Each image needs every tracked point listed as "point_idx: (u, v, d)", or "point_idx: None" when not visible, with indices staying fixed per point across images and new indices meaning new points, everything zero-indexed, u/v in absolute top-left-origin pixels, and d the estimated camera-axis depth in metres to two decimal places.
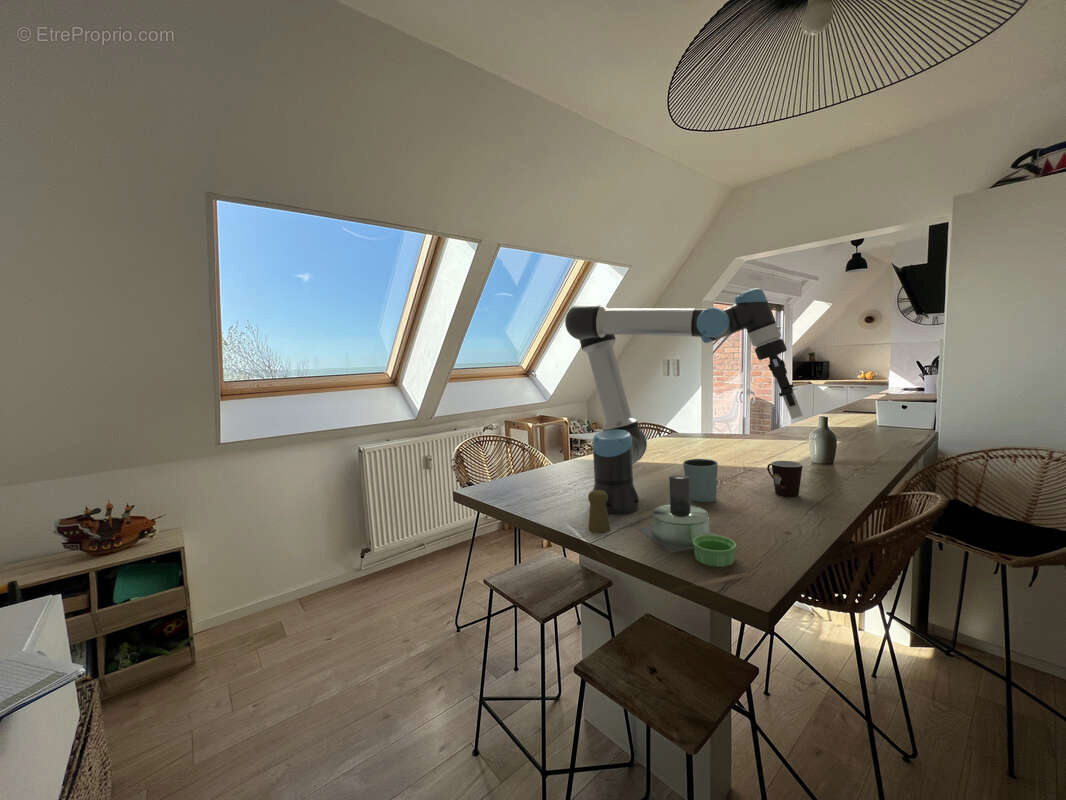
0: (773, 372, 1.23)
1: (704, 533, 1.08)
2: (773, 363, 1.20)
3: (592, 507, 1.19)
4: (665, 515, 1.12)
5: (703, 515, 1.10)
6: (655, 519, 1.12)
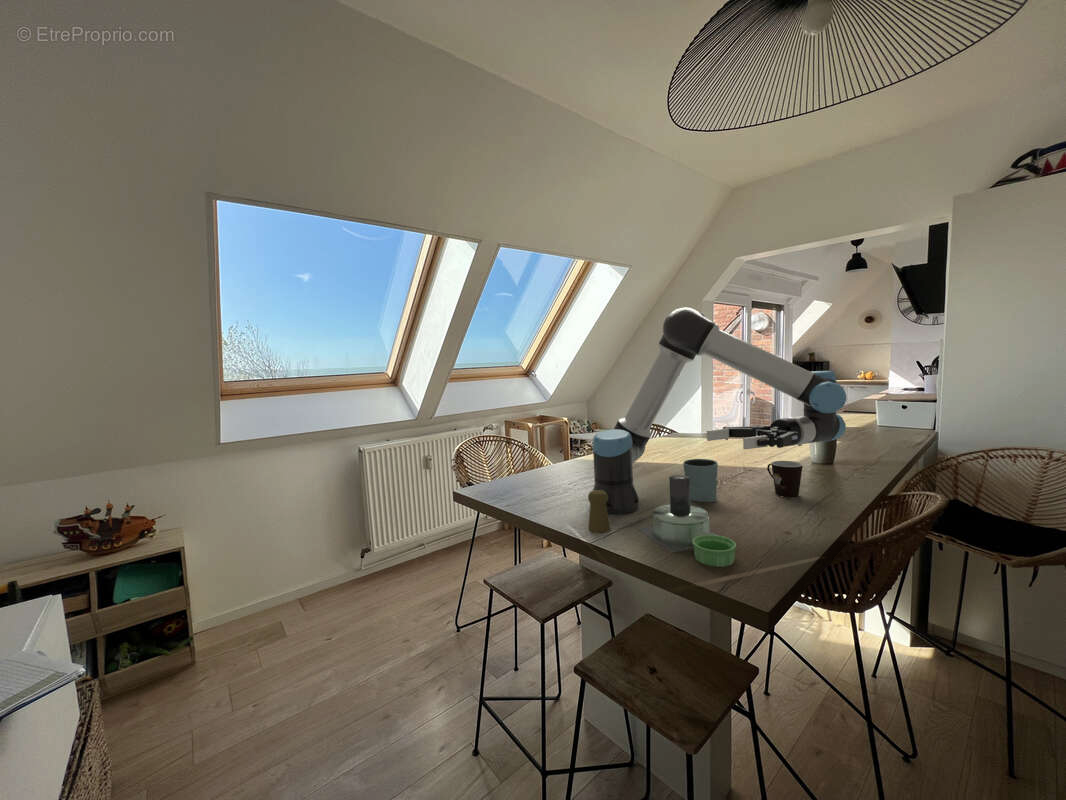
0: (777, 431, 1.15)
1: (704, 533, 1.08)
2: (795, 435, 1.13)
3: (592, 507, 1.19)
4: (665, 515, 1.12)
5: (703, 515, 1.10)
6: (655, 519, 1.12)
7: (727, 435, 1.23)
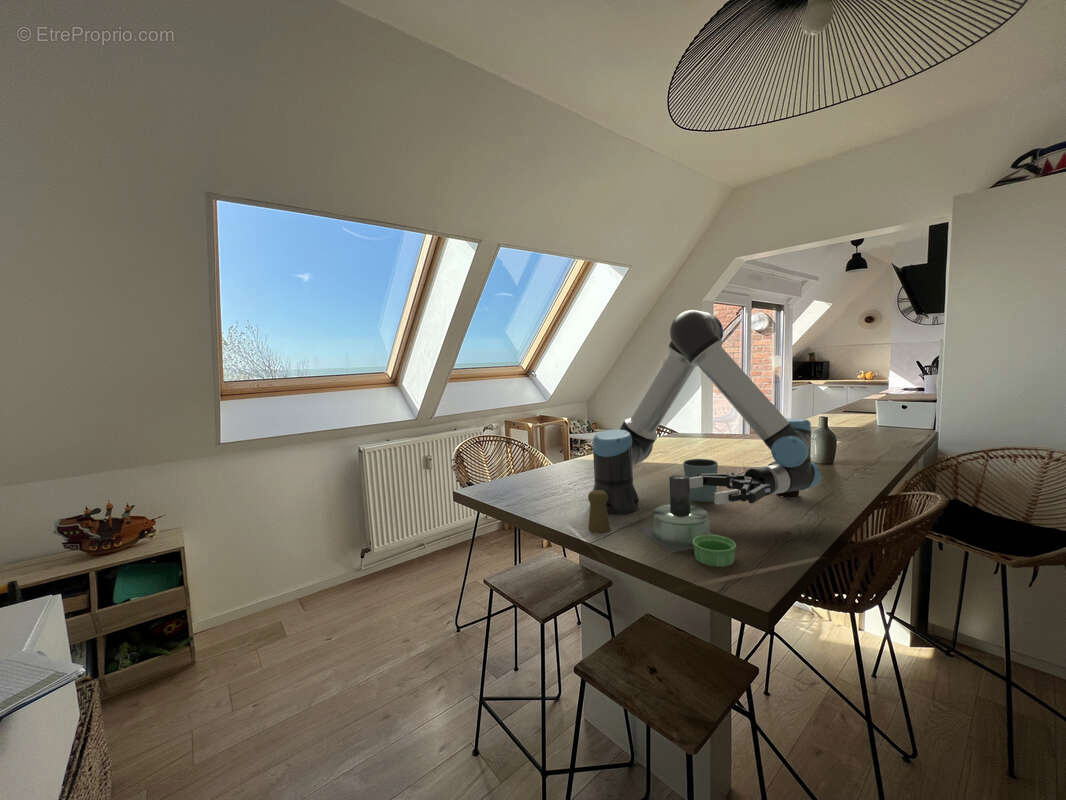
0: (750, 482, 1.13)
1: (704, 533, 1.08)
2: (768, 488, 1.11)
3: (592, 507, 1.19)
4: (665, 515, 1.12)
5: (703, 515, 1.10)
6: (655, 519, 1.12)
7: (701, 483, 1.21)
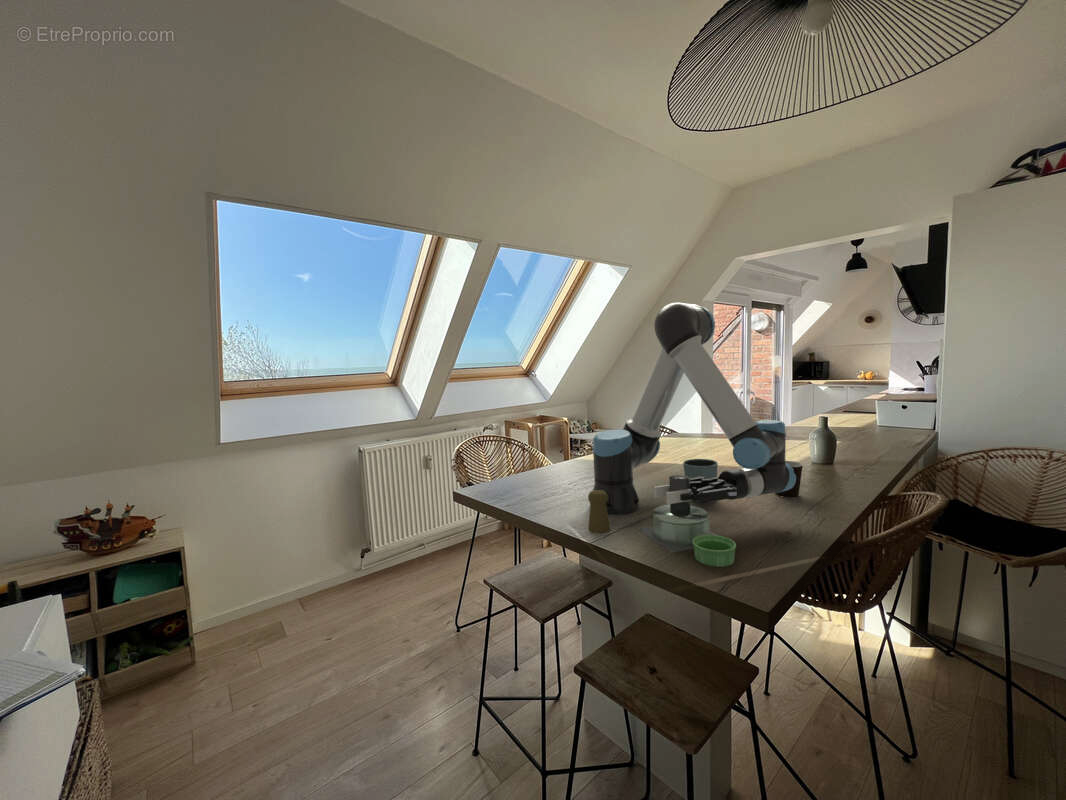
0: (716, 485, 1.13)
1: (704, 533, 1.08)
2: (732, 491, 1.09)
3: (592, 507, 1.19)
4: (665, 515, 1.12)
5: (703, 515, 1.10)
6: (655, 519, 1.12)
7: None
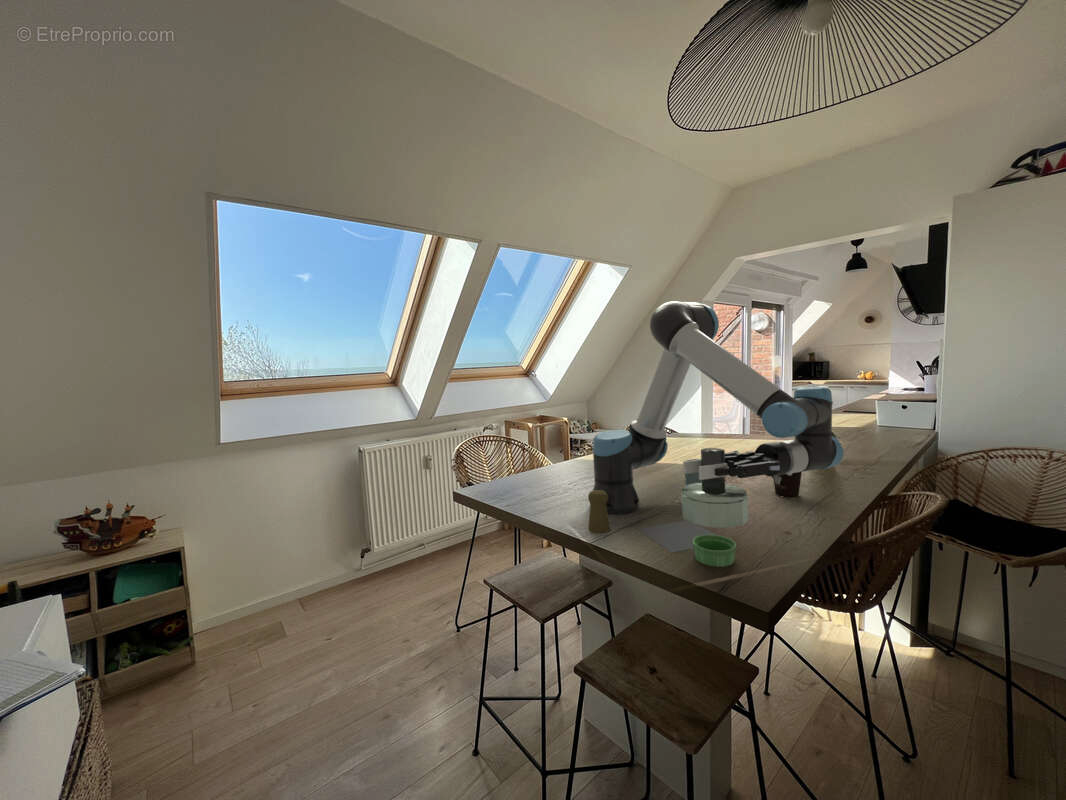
0: (755, 458, 0.98)
1: (743, 513, 0.93)
2: (775, 465, 0.95)
3: (592, 507, 1.19)
4: (697, 493, 0.97)
5: (740, 493, 0.96)
6: (685, 498, 0.98)
7: None
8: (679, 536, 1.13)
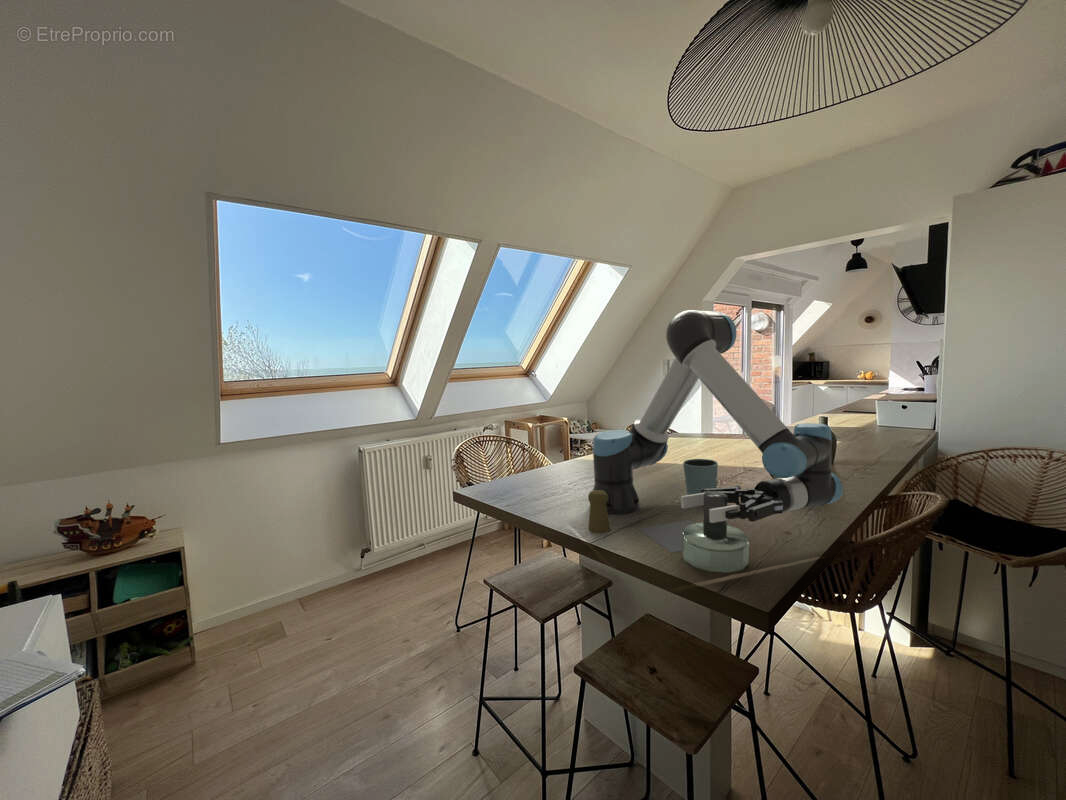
0: (758, 498, 0.98)
1: (743, 560, 0.94)
2: (779, 505, 0.96)
3: (592, 507, 1.19)
4: (698, 538, 0.98)
5: (742, 539, 0.97)
6: (686, 542, 0.98)
7: None
8: (679, 536, 1.13)
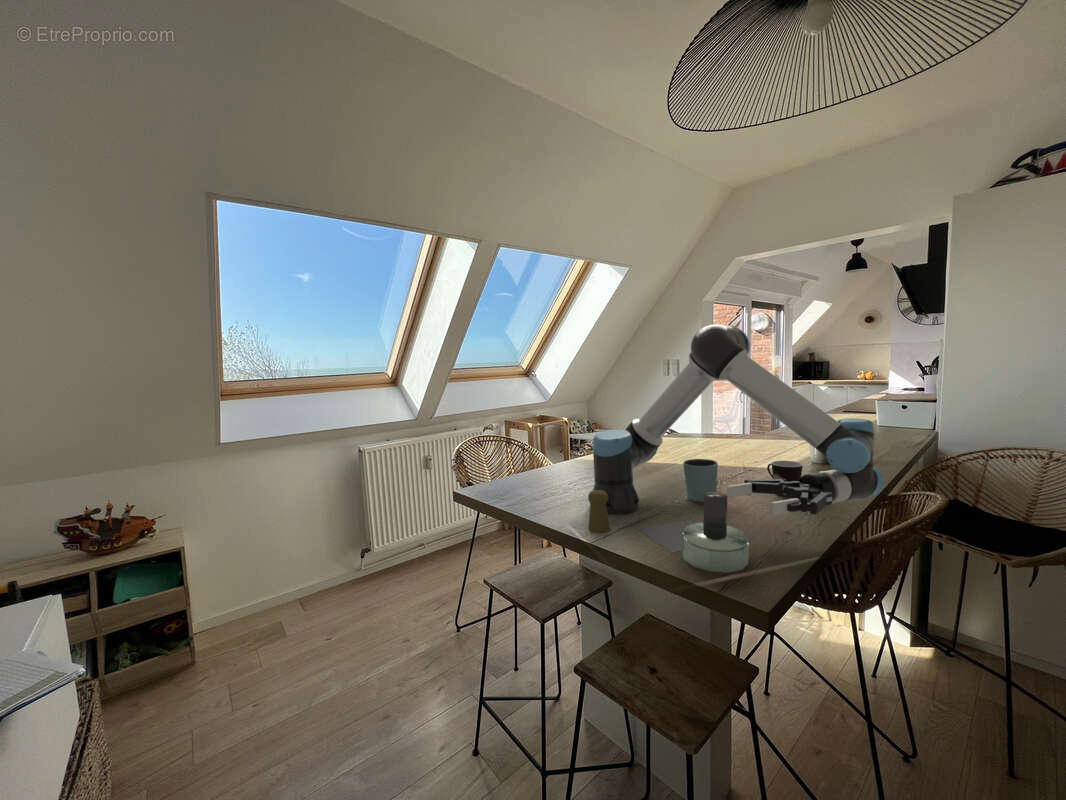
0: (808, 490, 1.02)
1: (743, 560, 0.94)
2: (830, 496, 0.99)
3: (592, 507, 1.19)
4: (698, 538, 0.98)
5: (742, 539, 0.97)
6: (686, 542, 0.98)
7: (750, 490, 1.09)
8: (679, 536, 1.13)
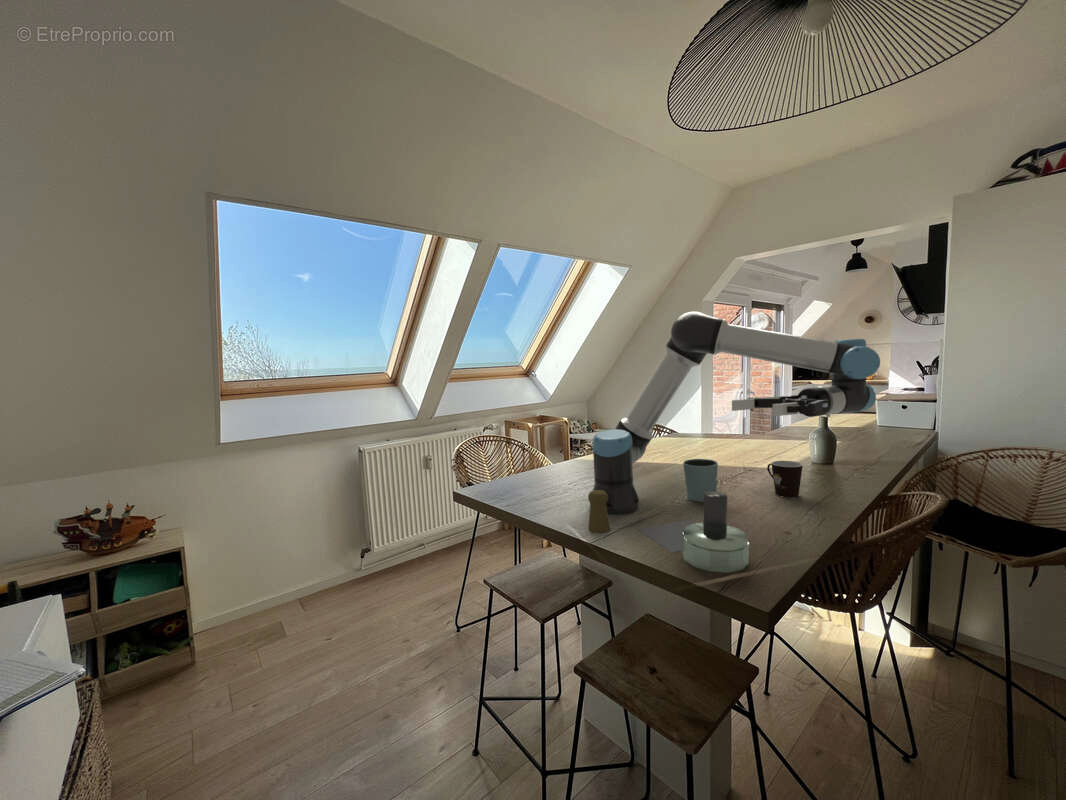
0: (806, 399, 1.11)
1: (743, 560, 0.94)
2: (826, 403, 1.09)
3: (592, 507, 1.19)
4: (698, 538, 0.98)
5: (742, 539, 0.97)
6: (686, 542, 0.98)
7: (752, 405, 1.19)
8: (679, 536, 1.13)
